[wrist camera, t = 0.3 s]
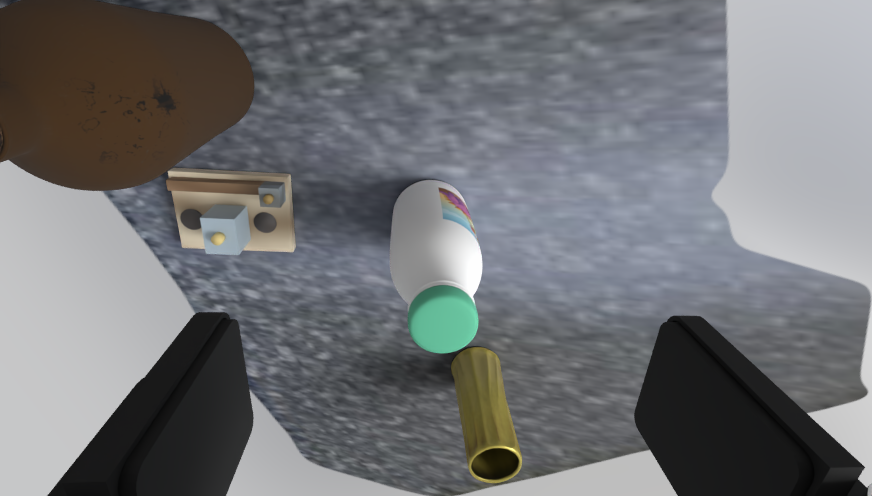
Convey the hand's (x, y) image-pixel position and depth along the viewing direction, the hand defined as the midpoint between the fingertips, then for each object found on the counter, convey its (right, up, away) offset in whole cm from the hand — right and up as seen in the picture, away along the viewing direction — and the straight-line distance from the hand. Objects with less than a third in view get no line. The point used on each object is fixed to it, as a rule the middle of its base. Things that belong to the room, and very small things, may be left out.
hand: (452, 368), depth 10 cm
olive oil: (-21, +18, +30) cm, 41 cm away
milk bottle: (-1, +6, +37) cm, 37 cm away
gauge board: (-20, +7, +35) cm, 41 cm away
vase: (+5, -12, +46) cm, 48 cm away
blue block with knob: (-20, +5, +34) cm, 40 cm away
